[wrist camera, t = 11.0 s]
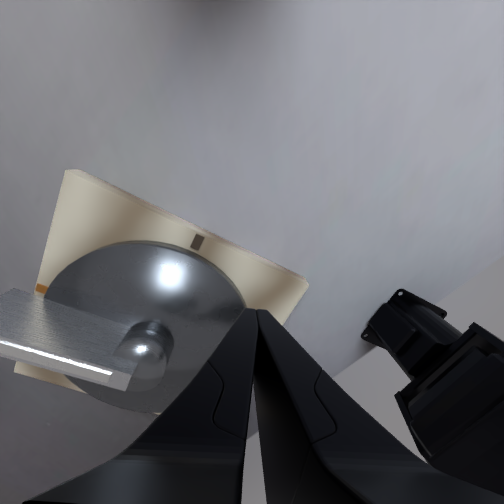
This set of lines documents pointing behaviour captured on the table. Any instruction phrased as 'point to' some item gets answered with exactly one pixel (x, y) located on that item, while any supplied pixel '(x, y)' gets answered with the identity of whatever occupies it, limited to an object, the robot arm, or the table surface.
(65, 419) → the table surface
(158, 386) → the dial
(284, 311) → the dial board
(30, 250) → the table surface
